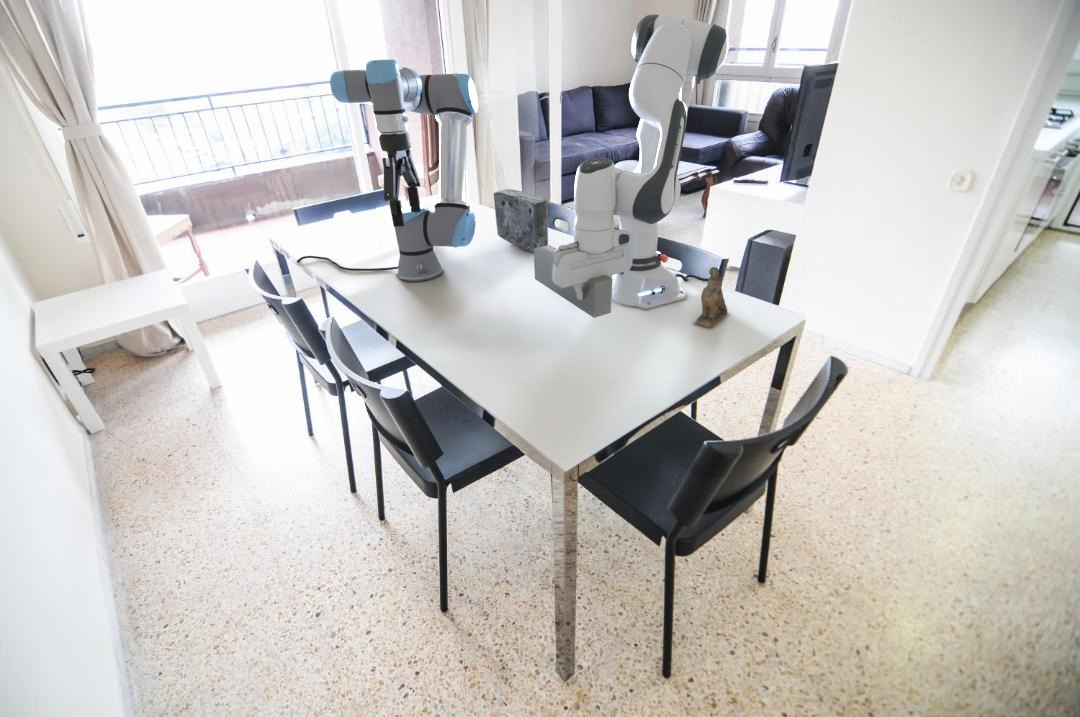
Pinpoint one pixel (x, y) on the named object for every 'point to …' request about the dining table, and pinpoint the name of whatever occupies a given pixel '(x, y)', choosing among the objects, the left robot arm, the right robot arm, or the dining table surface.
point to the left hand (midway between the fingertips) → (408, 218)
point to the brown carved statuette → (712, 301)
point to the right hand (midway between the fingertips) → (592, 295)
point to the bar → (595, 288)
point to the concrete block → (521, 218)
